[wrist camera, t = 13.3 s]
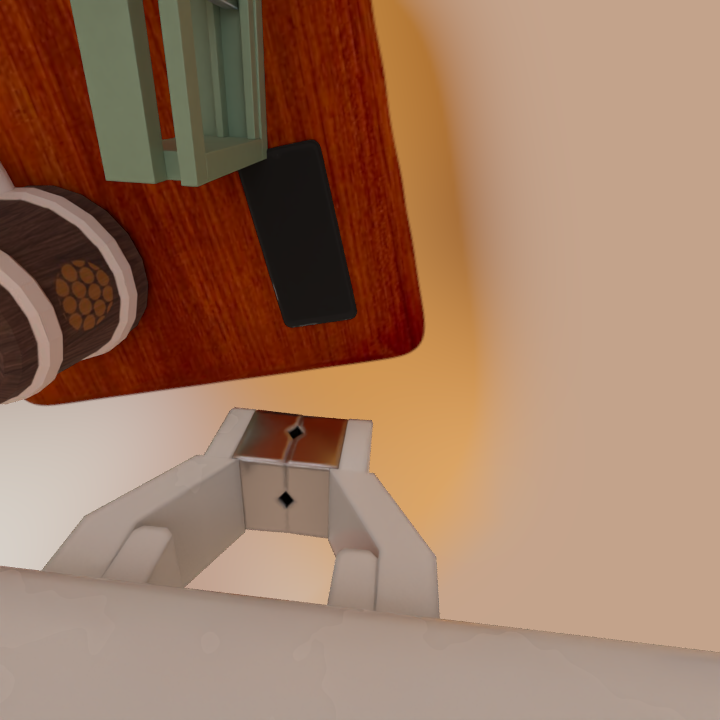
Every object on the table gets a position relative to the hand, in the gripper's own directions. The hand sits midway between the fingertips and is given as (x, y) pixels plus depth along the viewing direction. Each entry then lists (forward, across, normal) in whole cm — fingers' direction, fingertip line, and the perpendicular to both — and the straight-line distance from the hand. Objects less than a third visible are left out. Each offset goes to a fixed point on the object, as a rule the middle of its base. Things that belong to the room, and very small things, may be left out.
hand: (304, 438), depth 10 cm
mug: (+31, +28, +6) cm, 42 cm away
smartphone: (+32, +6, +4) cm, 33 cm away
